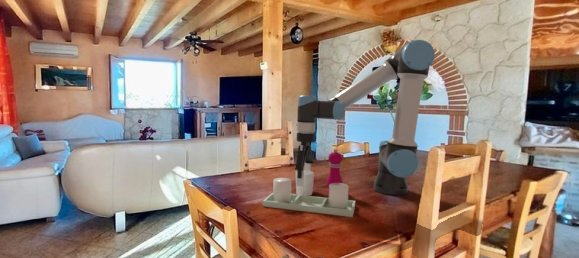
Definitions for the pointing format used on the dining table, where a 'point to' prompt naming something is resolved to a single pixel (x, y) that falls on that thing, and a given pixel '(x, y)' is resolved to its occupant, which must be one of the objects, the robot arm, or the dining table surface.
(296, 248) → the dining table surface
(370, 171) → the dining table surface
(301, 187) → the white cup
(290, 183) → the white capsule
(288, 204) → the caddy
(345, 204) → the white round cylinder
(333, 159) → the pepper mill
